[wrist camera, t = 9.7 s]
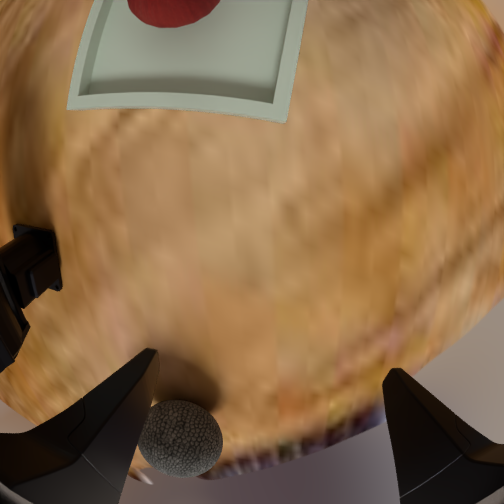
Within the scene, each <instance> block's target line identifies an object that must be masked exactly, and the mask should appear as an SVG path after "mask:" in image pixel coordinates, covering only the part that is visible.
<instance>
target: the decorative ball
mask: <svg viewBox="0 0 504 504" xmlns="http://www.w3.org/2000/svg"><path fill="white" fill-rule="evenodd" d="M138 447H139V450H140V452H141V454H142V455H143V457H144V458H145V460H146V461H147V462H148V463H149V464H150V465H151V466H152V467H154V468H155V469H157V470H158V471H160V472H162V473H164V474H167V475H169V476H174V477H180V478H186V477H193V476H197V475H200V474H202V473H204V472H206V471H208V470H209V469H210V468H211V467H212V466H213V465H214V464H215V463H216V462H217V460H218V459H219V457H220V455H221V452H222V447H223V438H222V433H221V430H220V427H219V425H218V423H217V422H216V420H215V419H214V417H213V416H212V415H211V414H210V413H209V412H208V411H206V410H205V409H203V408H202V407H200V406H198V405H196V404H194V403H191V402H188V401H183V400H167V401H163V402H160V403H157V404H155V405H154V406H152V407H151V408H150V410H149V413H148V415H147V418H146V421H145V424H144V427H143V429H142V432H141V435H140V438H139V441H138Z"/></svg>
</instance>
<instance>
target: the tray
mask: <svg viewBox="0 0 504 504" xmlns="http://www.w3.org/2000/svg"><path fill="white" fill-rule="evenodd" d="M307 5H308V0H220V2H219V3H218V5H217V6H216V7H215V8H214V9H213V10H212V11H211V13H210V14H208V15H207V16H205V17H203V18H202V19H200V20H198V21H197V22H195V23H192V24H189V25H185V26H181V27H178V28H158V27H154V26H151V25H148V24H145V23H144V22H142V21H140V20H139V19H138V18H137V17H136V16H135V15H134V14H133V13H132V12H131V10H130V9H129V6H128V2H127V0H94V3H93V5H92V8H91V11H90V14H89V16H88V19H87V22H86V25H85V28H84V32H83V35H82V38H81V42H80V45H79V49H78V53H77V57H76V61H75V65H74V70H73V75H72V80H71V85H70V90H69V96H68V103H67V110H95V109H170V110H186V111H198V112H209V113H218V114H226V115H234V116H241V117H248V118H254V119H260V120H266V121H271V122H277V123H282V124H284V123H285V122H286V121H287V115H288V110H289V105H290V99H291V94H292V88H293V83H294V77H295V72H296V66H297V61H298V55H299V50H300V44H301V39H302V33H303V27H304V22H305V16H306V10H307Z"/></svg>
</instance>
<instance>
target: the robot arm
mask: <svg viewBox="0 0 504 504" xmlns="http://www.w3.org/2000/svg"><path fill="white" fill-rule="evenodd" d="M13 233H14V239H13V240H12V241H10V242H8V243H7V244H5V245H4V246H2V247H0V373H1V372H2V371H3V370H4V369H5V368H6V367H8V366H9V365H11V364H12V363H14V362H15V360H14V359H15V358H16V357H17V355H18V353H19V350H20V348H21V346H22V344H23V342H24V339H25V337H26V335H27V333H28V331H29V329H30V325H29V323H28V321H27V320H26V318H25V316H24V314H23V312H22V309H21V308H23V309H25V308H26V307H27V306H28V305H29V304H30V303H31V302H32V301H33V300H34V299H35V298H38V297H39V296H40V295H41V294H42V293H43V292H45V291H46V290H47V289H48V288H49V289H52V290H55V291H60V290H61V289H62V282H61V276H60V270H59V264H58V257H57V249H56V241H55V234H54V232H53V231H52V230H47V229H42V228H37V227H32V226H27V225H22V224H15V225H14V226H13ZM50 236H51V237H50ZM159 369H160V363H159V355H158V351H157V350H156V349H151V348H146V349H144V350H143V351H142V352H140V353H139V354H138V355H137V356H135V357H134V358H133V359H131V360H130V361H129V362H128V363H126V364H125V365H124V366H122V367H121V368H120V369H119V370H117V371H116V372H115V373H113V374H112V375H111V376H110V377H108V378H107V379H106V380H104V381H103V382H102V383H100V384H99V385H98V386H97V387H95V388H94V389H93V390H91V391H90V392H89V393H87V394H86V395H85V396H84V397H83V398H81V399H79V400H78V401H77V402H76V403H74V404H73V405H71V406H70V407H69V408H67V409H66V410H64V411H63V412H61V413H59V414H58V415H56V416H55V417H53V418H51V419H49V420H48V421H46V422H44V423H42V424H40V425H39V426H37V427H35V428H33V429H31V430H29V431H27V432H24V433H15V434H14V433H13V434H12V433H0V504H118V503H119V499H120V496H121V493H122V490H123V486H124V483H125V480H126V477H127V474H128V471H129V468H130V465H131V462H132V459H133V456H134V453H135V450H136V447H137V444H138V441H139V438H140V435H141V432H142V429H143V427H144V424H145V421H146V418H147V415H148V413H149V410H150V407H151V404H152V399H153V395H154V391H155V386H156V382H157V378H158V374H159ZM382 388H383V396H384V404H385V413H386V419H387V424H388V429H389V434H390V439H391V444H392V450H393V455H394V460H395V467H396V473H397V481H398V488H399V495H400V504H504V444H497V443H494V442H492V441H491V440H489V439H488V438H486V437H485V436H483V435H482V434H481V433H479V432H478V431H476V430H475V429H474V428H472V427H471V426H469V425H468V424H467V423H466V422H464V421H463V420H462V419H461V418H459V417H458V416H457V415H455V414H454V412H452V411H451V410H450V409H449V408H448V407H446V406H445V405H444V404H443V403H442V402H441V401H439V400H438V399H437V398H436V397H435V396H434V395H432V394H431V393H430V392H429V391H428V390H426V389H425V388H424V387H423V386H422V385H420V384H419V383H418V382H417V381H416V380H415V379H413V378H412V377H411V376H410V375H409V374H407V373H406V372H405V371H404V370H403V369H401V368H392V369H391V370H390V371H389V373H388V374H387V376H386V377H385V379H384V381H383V384H382Z"/></svg>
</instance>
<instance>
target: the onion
mask: <svg viewBox="0 0 504 504" xmlns="http://www.w3.org/2000/svg"><path fill="white" fill-rule="evenodd" d="M127 2H128V6H129V9H130V10H131V12H132V13H133V14H134V15H135V16H136V17H137V18H138V19H139V20H140V21H142V22H144V23H145V24H148V25H151V26H154V27H158V28H178V27H181V26H185V25H189V24H192V23H195V22H197V21H198V20H200V19H202V18H203V17H205V16H207V15H208V14H210V13H211V11H212V10H213V9H214V8H215V7H216V6H217V5H218V3H219V2H220V0H127Z"/></svg>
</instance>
